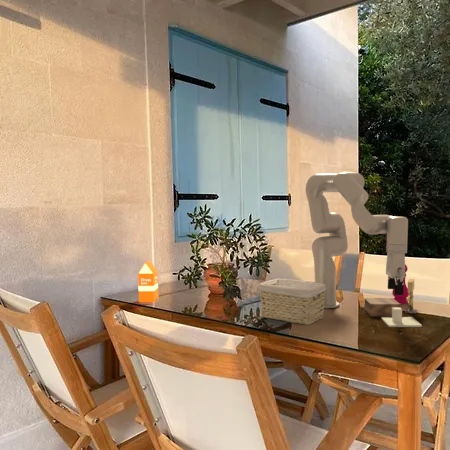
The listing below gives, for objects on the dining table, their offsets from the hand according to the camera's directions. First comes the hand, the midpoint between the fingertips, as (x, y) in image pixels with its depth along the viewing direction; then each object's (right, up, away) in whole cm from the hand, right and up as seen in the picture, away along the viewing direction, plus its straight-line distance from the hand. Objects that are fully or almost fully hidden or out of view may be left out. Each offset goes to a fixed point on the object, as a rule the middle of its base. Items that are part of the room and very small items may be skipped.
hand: (395, 291), depth 181 cm
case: (0, -11, +16) cm, 20 cm away
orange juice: (-104, -12, +49) cm, 116 cm away
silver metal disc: (+12, -11, +15) cm, 22 cm away
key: (+11, -10, +13) cm, 20 cm away
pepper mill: (+15, -10, +34) cm, 38 cm away
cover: (+2, -13, 0) cm, 13 cm away
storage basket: (-39, -13, +11) cm, 42 cm away
